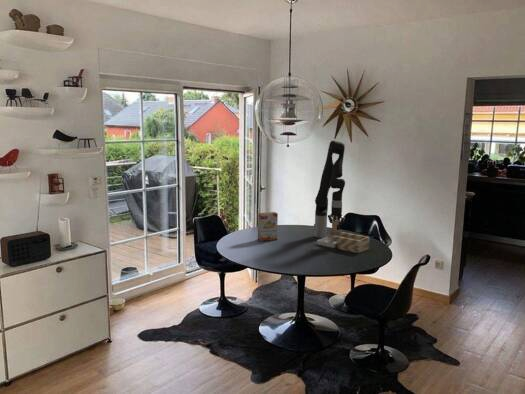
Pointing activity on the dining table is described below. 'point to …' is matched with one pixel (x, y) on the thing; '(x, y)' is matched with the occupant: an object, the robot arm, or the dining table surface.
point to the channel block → (351, 242)
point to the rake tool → (334, 229)
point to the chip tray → (326, 243)
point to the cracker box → (267, 226)
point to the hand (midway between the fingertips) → (335, 229)
